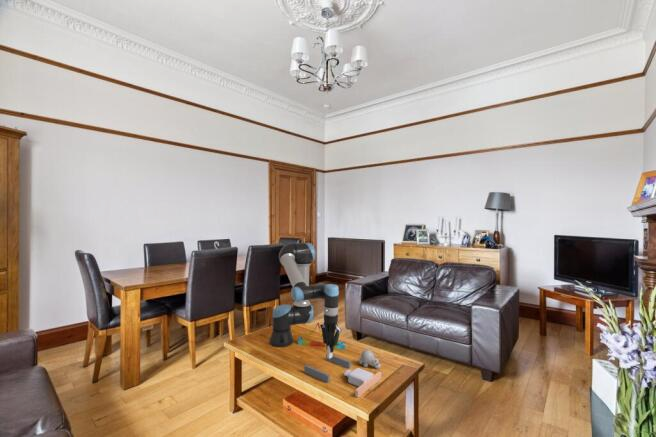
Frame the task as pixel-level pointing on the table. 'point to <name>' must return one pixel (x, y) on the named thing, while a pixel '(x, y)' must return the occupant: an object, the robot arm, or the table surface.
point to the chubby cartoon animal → (369, 359)
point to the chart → (319, 344)
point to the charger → (358, 376)
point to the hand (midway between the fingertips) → (329, 357)
